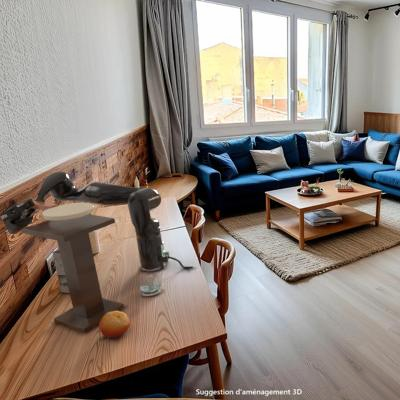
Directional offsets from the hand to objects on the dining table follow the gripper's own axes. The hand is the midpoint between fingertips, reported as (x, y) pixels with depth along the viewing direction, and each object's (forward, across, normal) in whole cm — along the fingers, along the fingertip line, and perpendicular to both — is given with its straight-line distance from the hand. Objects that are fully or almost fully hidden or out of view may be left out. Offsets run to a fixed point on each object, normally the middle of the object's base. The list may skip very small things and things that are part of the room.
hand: (37, 200), depth 107 cm
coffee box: (-25, +11, +29) cm, 40 cm away
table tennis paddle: (+6, 0, +6) cm, 9 cm away
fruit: (+7, -4, +48) cm, 48 cm away
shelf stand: (-8, 0, +39) cm, 40 cm away
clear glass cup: (0, +18, +44) cm, 47 cm away
